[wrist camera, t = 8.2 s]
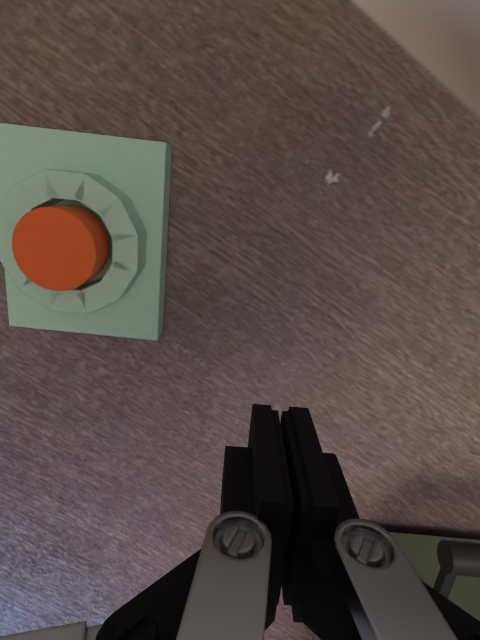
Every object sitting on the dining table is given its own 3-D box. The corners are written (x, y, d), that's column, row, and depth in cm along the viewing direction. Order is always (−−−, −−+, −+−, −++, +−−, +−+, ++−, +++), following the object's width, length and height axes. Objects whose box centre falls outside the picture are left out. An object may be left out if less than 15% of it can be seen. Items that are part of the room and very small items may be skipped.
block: (12, 126, 20) (-34, 115, 16) (172, 145, 20) (158, 137, 17) (25, 316, 23) (-12, 338, 20) (163, 330, 23) (150, 354, 20)
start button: (29, 200, 18) (7, 202, 16) (109, 209, 18) (95, 211, 16) (33, 278, 19) (14, 287, 17) (109, 286, 19) (96, 295, 18)
